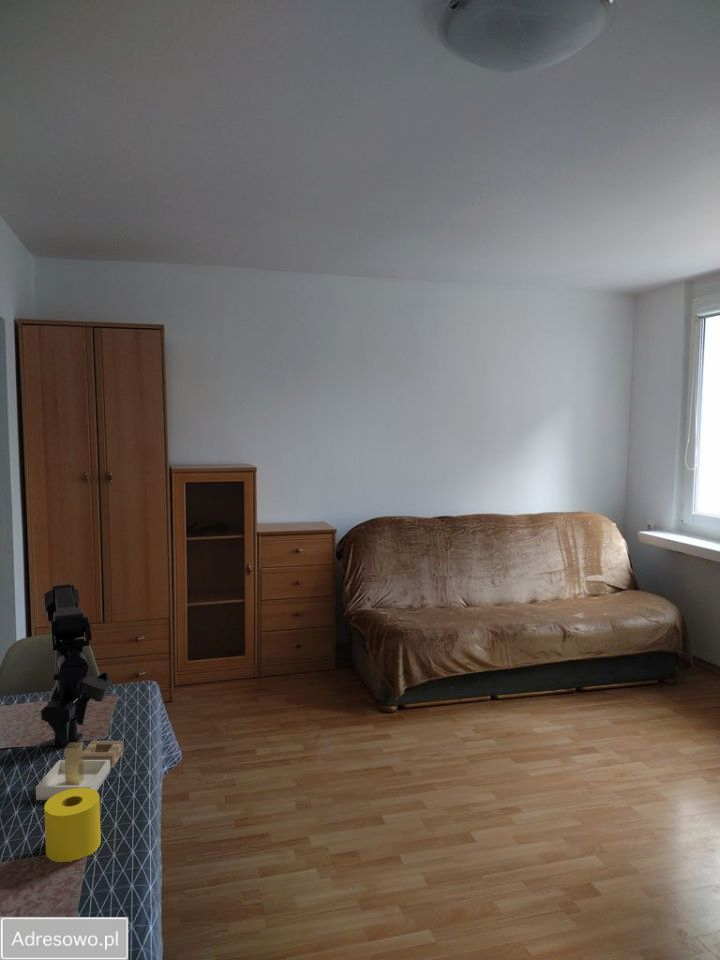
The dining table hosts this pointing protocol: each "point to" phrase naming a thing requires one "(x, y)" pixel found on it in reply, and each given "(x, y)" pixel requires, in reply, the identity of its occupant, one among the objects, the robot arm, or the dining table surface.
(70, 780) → the pin
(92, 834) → the yellow toilet paper roll
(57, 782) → the tray
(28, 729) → the dining table surface
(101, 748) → the block
